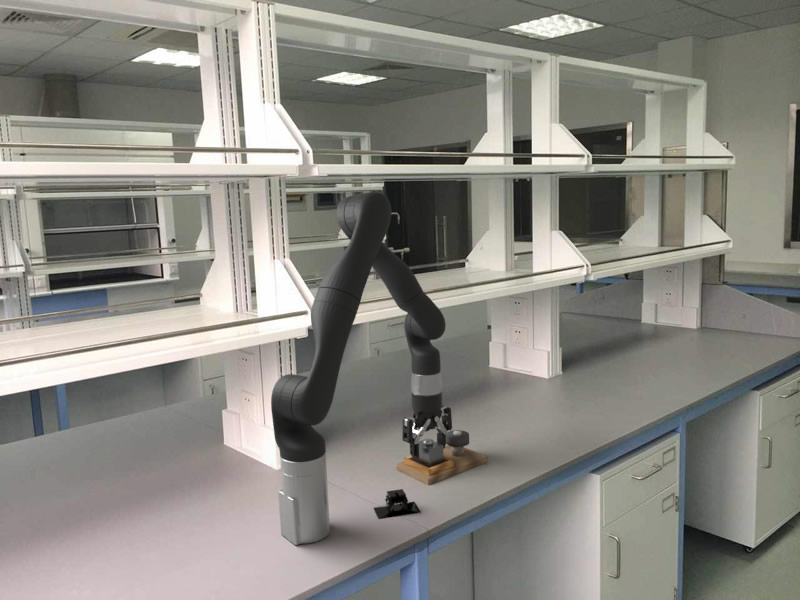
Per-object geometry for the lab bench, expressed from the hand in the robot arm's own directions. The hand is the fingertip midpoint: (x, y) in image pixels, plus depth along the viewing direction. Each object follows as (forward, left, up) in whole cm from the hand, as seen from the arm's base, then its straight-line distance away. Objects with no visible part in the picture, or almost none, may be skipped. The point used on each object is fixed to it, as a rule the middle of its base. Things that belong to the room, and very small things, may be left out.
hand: (428, 452), depth 164 cm
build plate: (-19, -11, -6) cm, 22 cm away
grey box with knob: (0, 0, -3) cm, 3 cm away
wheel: (+10, 0, 0) cm, 10 cm away
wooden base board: (+4, 0, -5) cm, 7 cm away
